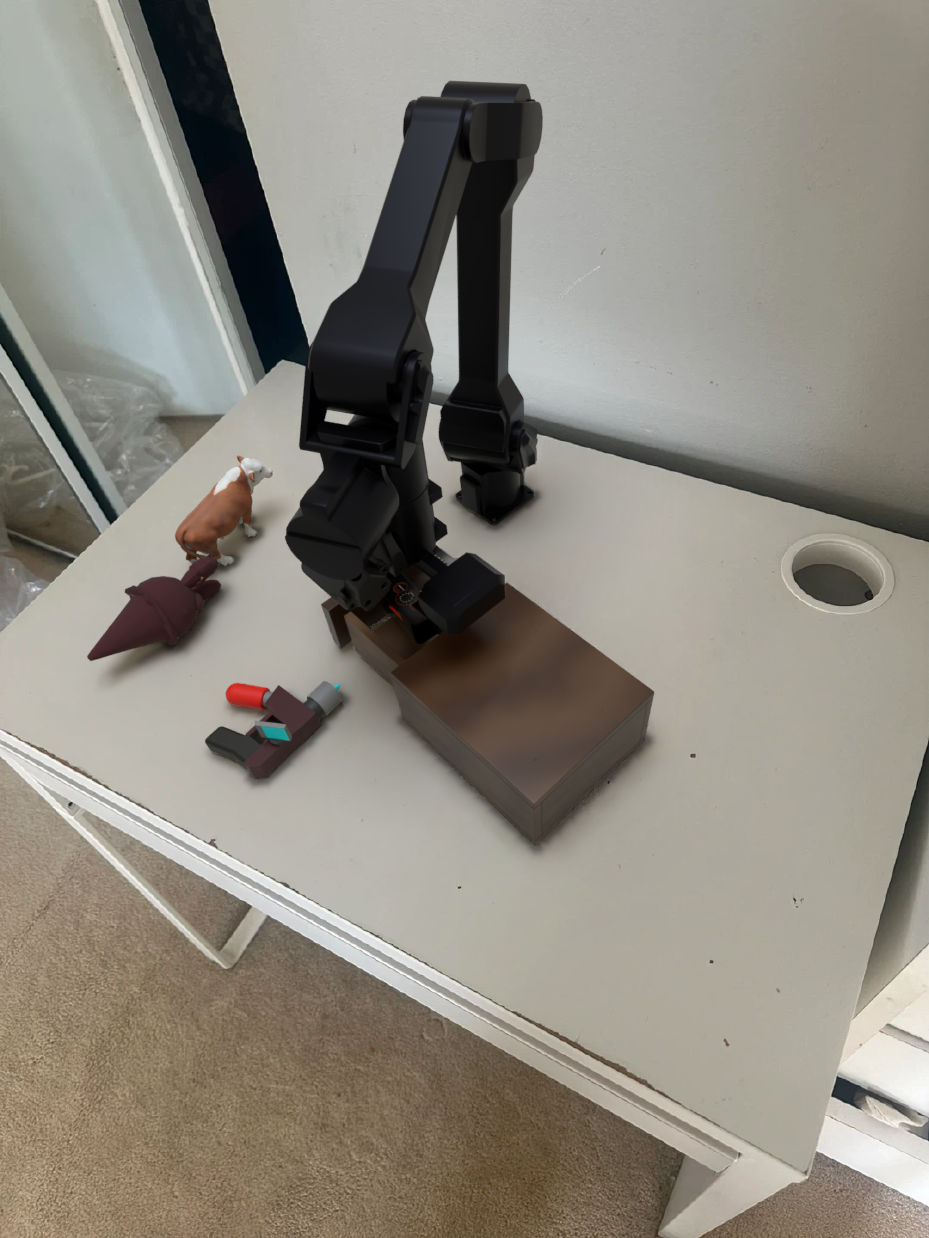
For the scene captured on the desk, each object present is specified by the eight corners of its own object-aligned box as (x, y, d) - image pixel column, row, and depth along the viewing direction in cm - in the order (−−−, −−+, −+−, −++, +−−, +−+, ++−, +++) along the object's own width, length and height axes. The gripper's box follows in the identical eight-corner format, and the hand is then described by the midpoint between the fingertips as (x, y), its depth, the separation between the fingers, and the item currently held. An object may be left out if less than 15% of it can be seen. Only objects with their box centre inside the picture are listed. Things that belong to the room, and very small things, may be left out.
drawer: (304, 614, 79) (290, 576, 74) (399, 548, 83) (391, 508, 79) (439, 741, 69) (432, 706, 64) (539, 658, 73) (539, 619, 69)
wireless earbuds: (424, 654, 70) (419, 632, 68) (380, 608, 74) (374, 585, 72) (465, 627, 72) (462, 604, 69) (420, 583, 76) (415, 560, 73)
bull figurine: (292, 509, 90) (273, 453, 83) (210, 588, 83) (182, 534, 77) (263, 497, 91) (242, 441, 85) (181, 573, 85) (151, 519, 79)
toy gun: (357, 699, 73) (346, 669, 69) (259, 794, 68) (243, 767, 64) (286, 649, 77) (273, 618, 74) (190, 734, 72) (170, 706, 68)
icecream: (104, 666, 70) (240, 574, 77) (54, 613, 72) (191, 529, 79) (120, 701, 76) (244, 612, 83) (72, 651, 77) (198, 569, 85)
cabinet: (402, 719, 71) (389, 672, 65) (509, 633, 76) (506, 581, 71) (534, 845, 63) (534, 804, 57) (645, 739, 68) (654, 691, 62)
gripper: (236, 479, 62) (287, 605, 74) (386, 608, 52) (416, 727, 65) (348, 411, 66) (379, 541, 78) (506, 520, 57) (513, 648, 69)
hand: (417, 610), depth 72 cm, fingers closed on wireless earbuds, 7 cm apart
